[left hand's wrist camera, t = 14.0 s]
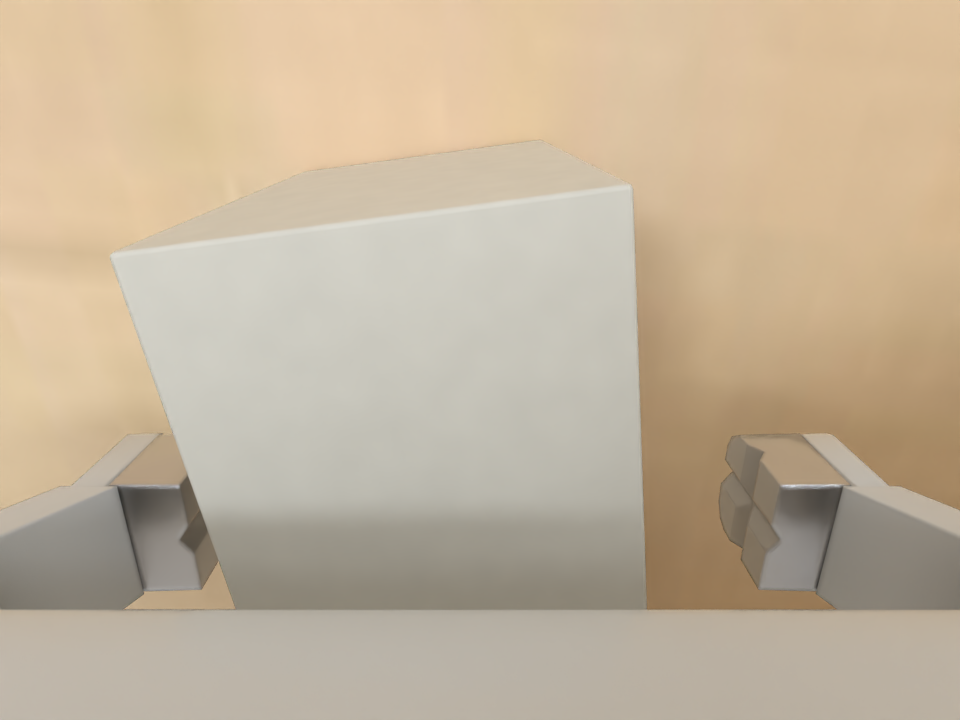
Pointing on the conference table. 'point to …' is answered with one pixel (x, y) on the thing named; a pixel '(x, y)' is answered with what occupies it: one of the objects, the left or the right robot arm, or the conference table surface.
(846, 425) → the conference table surface
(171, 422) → the bar
